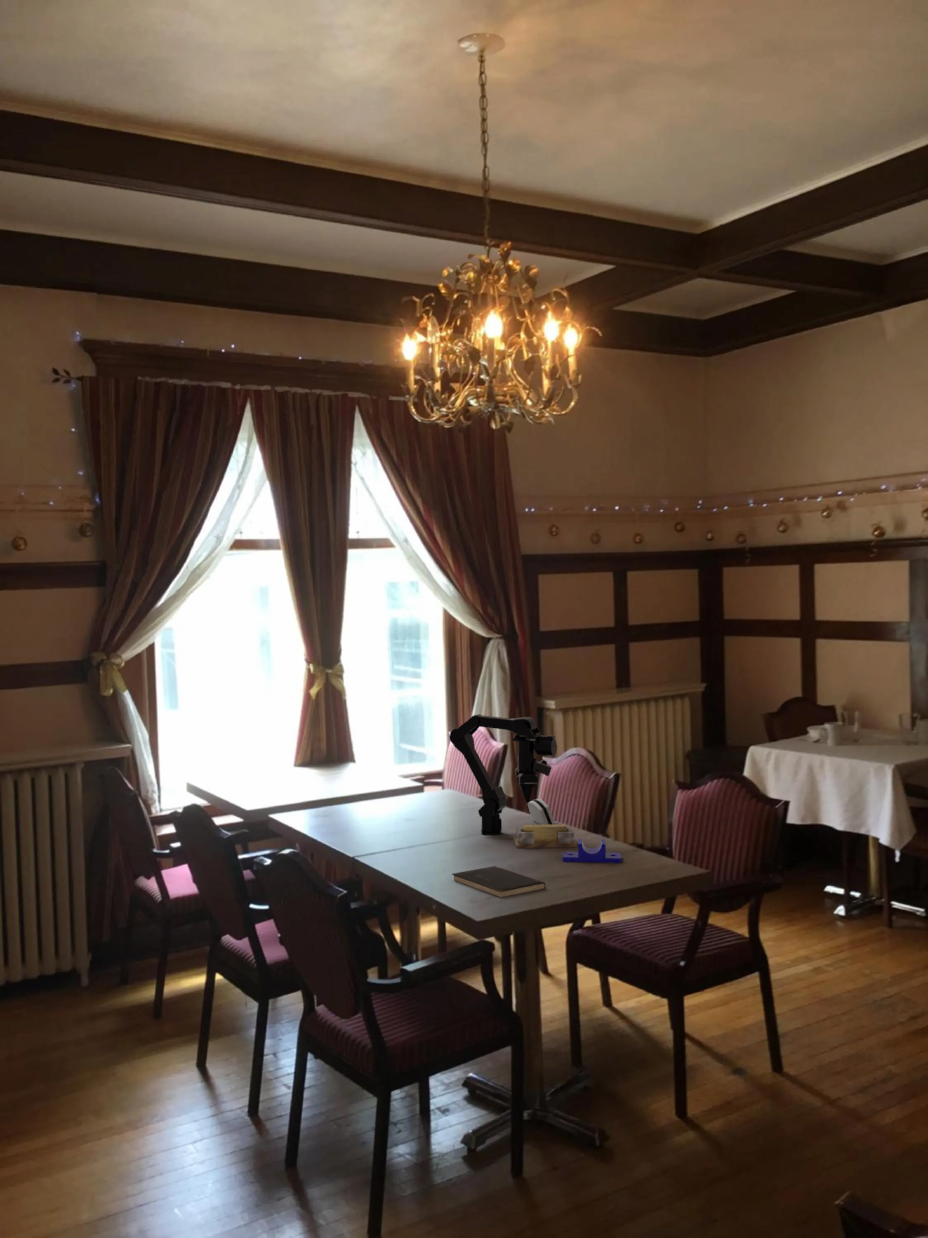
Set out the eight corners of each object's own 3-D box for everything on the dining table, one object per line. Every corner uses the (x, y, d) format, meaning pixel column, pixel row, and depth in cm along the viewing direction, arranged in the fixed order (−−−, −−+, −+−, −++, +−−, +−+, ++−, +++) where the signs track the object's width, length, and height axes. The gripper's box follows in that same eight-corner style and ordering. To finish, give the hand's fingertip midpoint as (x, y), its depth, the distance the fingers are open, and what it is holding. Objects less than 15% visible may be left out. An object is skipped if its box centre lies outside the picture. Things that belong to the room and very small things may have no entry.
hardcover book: (500, 899, 296) (500, 891, 296) (452, 881, 315) (452, 873, 315) (545, 890, 305) (545, 881, 305) (496, 873, 324) (496, 865, 324)
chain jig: (516, 848, 355) (516, 834, 355) (513, 840, 366) (513, 827, 366) (577, 847, 356) (577, 833, 355) (572, 839, 366) (572, 826, 366)
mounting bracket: (620, 858, 341) (620, 839, 341) (621, 864, 334) (621, 844, 334) (562, 857, 343) (562, 838, 343) (562, 863, 336) (562, 843, 336)
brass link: (524, 842, 359) (524, 827, 359) (523, 839, 362) (523, 825, 362) (566, 841, 359) (566, 826, 359) (565, 839, 363) (565, 824, 363)
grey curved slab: (560, 827, 386) (551, 802, 385) (548, 833, 385) (539, 807, 384) (545, 818, 402) (536, 793, 401) (533, 823, 401) (524, 798, 400)
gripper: (552, 758, 363) (553, 804, 363) (546, 750, 382) (547, 794, 382) (519, 758, 362) (519, 805, 363) (515, 750, 381) (515, 795, 381)
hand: (526, 799), depth 372 cm, fingers open, 9 cm apart
